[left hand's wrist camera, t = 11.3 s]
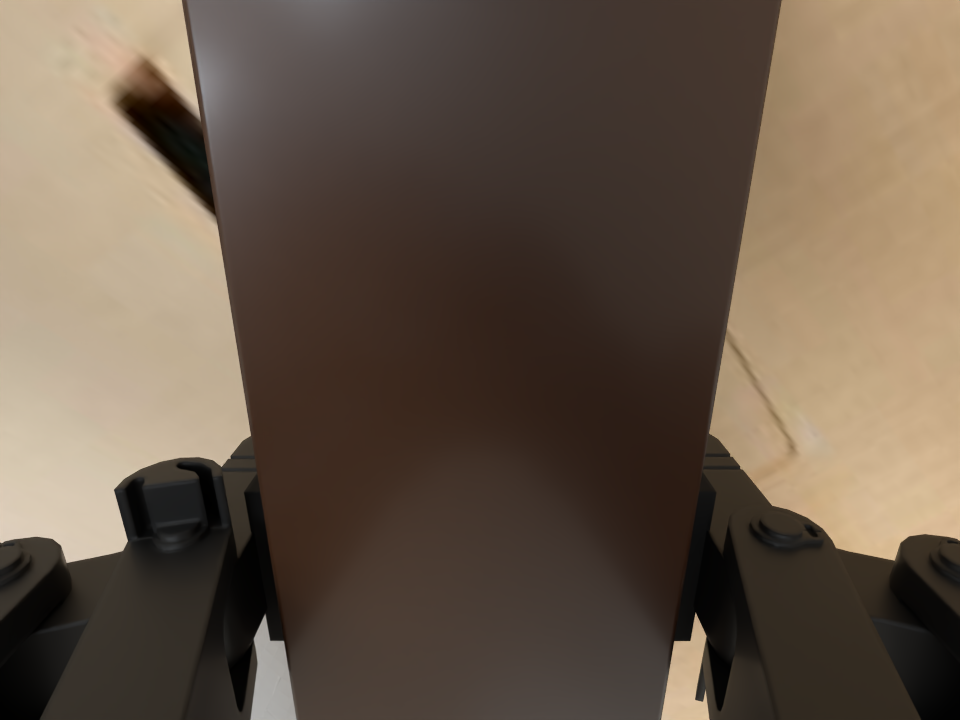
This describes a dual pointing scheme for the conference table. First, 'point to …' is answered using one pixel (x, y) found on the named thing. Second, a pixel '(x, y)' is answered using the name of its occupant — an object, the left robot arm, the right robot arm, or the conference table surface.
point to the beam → (480, 330)
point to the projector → (271, 679)
